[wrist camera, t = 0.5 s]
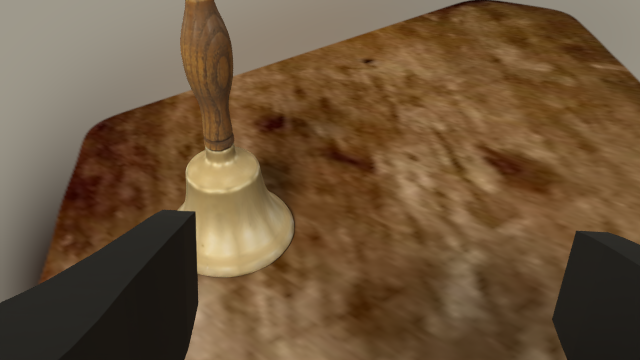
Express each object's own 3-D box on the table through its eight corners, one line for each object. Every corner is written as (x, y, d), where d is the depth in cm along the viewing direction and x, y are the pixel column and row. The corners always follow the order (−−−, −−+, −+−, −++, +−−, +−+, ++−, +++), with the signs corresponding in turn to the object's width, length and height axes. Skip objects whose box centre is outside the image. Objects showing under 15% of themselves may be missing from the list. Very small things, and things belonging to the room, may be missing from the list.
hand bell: (298, 189, 40) (286, -37, 30) (289, 279, 34) (271, 30, 24) (183, 188, 41) (133, -37, 31) (153, 277, 34) (77, 30, 24)
